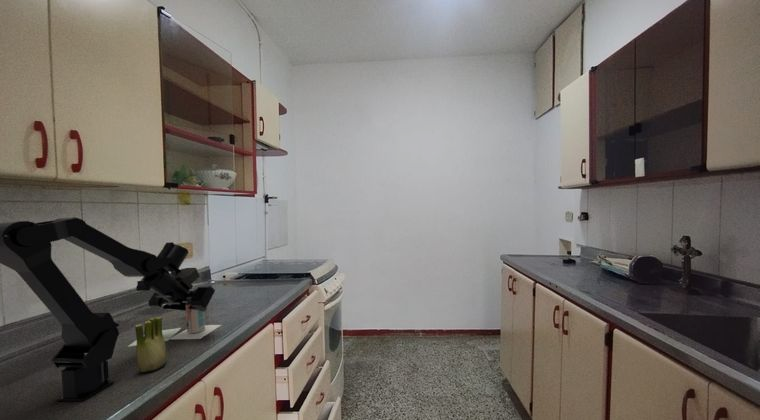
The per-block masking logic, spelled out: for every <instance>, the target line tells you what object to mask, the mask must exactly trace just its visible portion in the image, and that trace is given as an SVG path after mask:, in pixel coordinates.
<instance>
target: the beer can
mask: <svg viewBox="0 0 760 420" xmlns="http://www.w3.org/2000/svg"><path fill="white" fill-rule="evenodd" d="M185 305H186V311H185V316H186V317H185V318H186V319H185V320H186V329H187V332H188V333H190V334H195V333H199V332H201V331H203V330H204V329H205V325H206V321H205V320H206V319H205V311H199V310H192V309H189V307H190V305H191V304H190V299H189V300H188V302H185Z"/></svg>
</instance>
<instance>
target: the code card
mask: <svg viewBox="0 0 760 420" xmlns="http://www.w3.org/2000/svg"><path fill="white" fill-rule="evenodd" d="M221 326H222V324H205V329H204V330H203V331H201V332H199V333H195V334H190V333H188V332H187V328H186V329H185V330H183V331H181V332H179V333H176V334H175V335H174V336H173V337H172V338H170V339H169V340H173V341H174V340H200V339H203V338H204V337H205V336H207V335H208V334H210V333H212V332H213V331H215V330H217V329H218V328H220V327H221ZM169 340H168V341H169Z"/></svg>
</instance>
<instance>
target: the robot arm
mask: <svg viewBox="0 0 760 420" xmlns="http://www.w3.org/2000/svg"><path fill="white" fill-rule="evenodd" d="M60 240H61V241H62V240H65V241H67V242H69V243H70V244H71V243H72V244H73V245H75V246H77V247H79V248H81V249H84V250H85V251H87V252H89V253H92V254H94V255H95V256H97V257H99V258H102V259H104V260H106V261H108V262H109V263H110V264H112V266H113V268H114V269H115V270H116V271H117V272H119V273H120V274H121V275H123V276H124V277H127V278H134V277H135V278H137V277H139V278H140V277H141V280H138V281H136V283H137V285H136V286H135V288H136V289H135V291H136V292H148V291H150V290H151V291H152V292H154V293H153V295H151V297H150V299H149V300H148V306H149V307H150V308H151V309H161V308H162V309H163V310H170V311H171V310H173V311H183V312H186V305H185V302H188V300H189V299H190V304H191V305H190V307H189V309H192V310H199V311H204V312H207V307H208V306H209V304H210V302H211V300H212V298H213V296H214V294H215V292H216V289H215V288H214V287H213V286H212V285H203V286H202V285H201V286H198V287H197V288H195V289H194V290H192V288H193V287H194V285H193V283H195V281H197V280H198V279H199V278H200V277H201V276H200V275H201V274H200V273H199V270H198V269H197V267H185V268H181V269H180V267H181V266H182V264H183V262H184V261H185V260H186V258H187V256H188V254H189V250H188V248H186V247H183V246H181V245H179V244H176V243H174V242H173V241H172V242H166V243H165V244H164V245H163V248H162V249H161V250H160V252H159V253H158V255H155V254H153V253H150V252H148V251H145V250H139V249H135V248H131V247H129V246H127V245H126V244H123V243H122V242H119V241H118V240H116V239H114V238H112V237H111V236H109V235H107V234H106V233H104V232H102V231H100V230H98V229H96V228H95V227H94V226H91V225H89V224H88V223H87V222H86V221H85V220H83V219H81V218H79V217H62V218H56V219H54V220H48V221H40V222H33V221H29V220H26V221H25V220H22V221H21V220H20V221H18V220H17V221H6V222H5V221H4V222H0V264H1V265H3V266H5V267H7V268H9V269H11V270H13V271H14V272H16V273H17V274H18V275H19V276H20V277H21V279H22V280H23V281H24V282H25V283H26V285H27V286H28V287H29V288H30V290H31V291H32V292H33V293H34V294H35V295H36V297H37V298H38V299H39V300H40V301H41V302H42V303H43V305H44V306H45V307H46V308H47V309H48V311H50V313H51V314H52V315H53V316H54V318H56V320H57V321H58V322H59V324H60V325H61V338H62V341H63V343H64V344H63V345H62V347H61V348H60V349H59V350H58V352H57V353H56V354H55V355H54V356H53V357H52V359H51V363H52V365H53V366H54V368H56V369H59V368H64V369H62V370H60V372H61V373H60V374H61V390H62V394H61V395H59V396H57V397H56V399H55V401H56V402H59V401H60V402H61V401H63V402H64V401H65V402H68V401H71V402H81V401H85V400H87V399H89V398H90V397H92V396H93V395H96V394H97V393H99V392H101V391H102V390H104V389H105V388H107V387H109V386H110V385H113V384H114V383H115V380H114V379H109V378H110V376H109V375H110V374H109V373H110V372H109V362H108V360H110V359H112V358H113V355H114V351H115V348H116V347H115V346H116V344H117V341H118V337H119V335H120V331H119V328H118V327H119V326H120V324H119V323H117V322H116V321H115V320H114V319H113V317H112V315H111V313H110V312H93V311H92V310H91V309H90V307H89V306H88V305H87V304H86V302H85V301H84V300H83V298H82V297H81V296H80V294H79V293H78V292H77V291H76V289H75V287H73V285H72V284H71V282H69V280H68V278H67V277H66V276H65V275H64V273H63V272H62V271H61V270H60V268H59V267H58V265H56V263H55V262H54V260H53V258H52V248H53V247H52V246H53V245H52V242H57V241H60Z"/></svg>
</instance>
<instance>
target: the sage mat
mask: <svg viewBox="0 0 760 420" xmlns="http://www.w3.org/2000/svg"><path fill="white" fill-rule="evenodd" d="M181 329H182V327H176V328H170V329H162V334H163V338H164V341H165V342H169V339H170V338H172V337H173V336H175V335H177V334H178V332H179V331H181ZM127 347H128V348H131V347H137V339H135V340H134V341H133V342H132V343H130V344H129V345H128V346H127Z"/></svg>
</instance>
